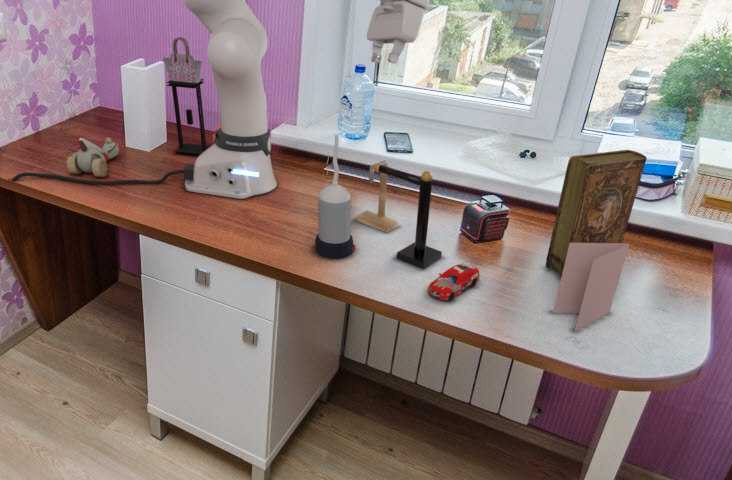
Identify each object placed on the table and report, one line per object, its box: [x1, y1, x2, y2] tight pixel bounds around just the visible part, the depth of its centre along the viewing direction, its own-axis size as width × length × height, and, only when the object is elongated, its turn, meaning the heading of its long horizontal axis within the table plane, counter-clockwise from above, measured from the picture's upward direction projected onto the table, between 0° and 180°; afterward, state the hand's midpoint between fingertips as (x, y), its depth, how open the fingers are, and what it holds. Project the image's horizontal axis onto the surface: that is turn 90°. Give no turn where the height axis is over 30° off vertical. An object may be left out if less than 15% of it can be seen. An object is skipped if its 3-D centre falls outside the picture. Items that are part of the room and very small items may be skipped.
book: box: [545, 149, 647, 278], centre depth 133 cm, size 16×6×25 cm, turn 117°
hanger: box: [356, 159, 399, 233], centre depth 147 cm, size 6×9×15 cm, turn 56°
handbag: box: [162, 36, 211, 157], centre depth 174 cm, size 10×8×30 cm
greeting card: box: [552, 242, 630, 332], centre depth 118 cm, size 11×7×15 cm, turn 97°
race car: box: [427, 263, 480, 302], centre depth 128 cm, size 13×5×4 cm, turn 140°
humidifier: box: [314, 134, 356, 260], centre depth 132 cm, size 8×8×25 cm
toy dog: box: [66, 137, 120, 178], centre depth 165 cm, size 12×19×9 cm, turn 19°
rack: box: [373, 162, 443, 270], centre depth 135 cm, size 7×16×20 cm, turn 56°
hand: (383, 62), depth 144 cm, fingers open, 8 cm apart
